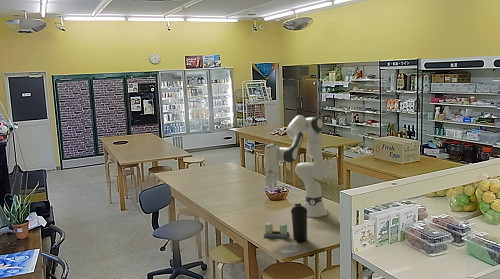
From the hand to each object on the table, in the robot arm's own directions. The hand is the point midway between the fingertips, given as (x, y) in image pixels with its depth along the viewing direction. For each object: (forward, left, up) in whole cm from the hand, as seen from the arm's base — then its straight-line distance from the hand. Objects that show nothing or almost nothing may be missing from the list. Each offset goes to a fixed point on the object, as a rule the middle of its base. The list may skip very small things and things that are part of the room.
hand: (273, 188), depth 289 cm
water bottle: (+14, +20, -29) cm, 38 cm away
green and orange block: (+12, -1, -28) cm, 30 cm away
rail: (+12, +4, -29) cm, 32 cm away
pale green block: (+12, +9, -28) cm, 32 cm away
